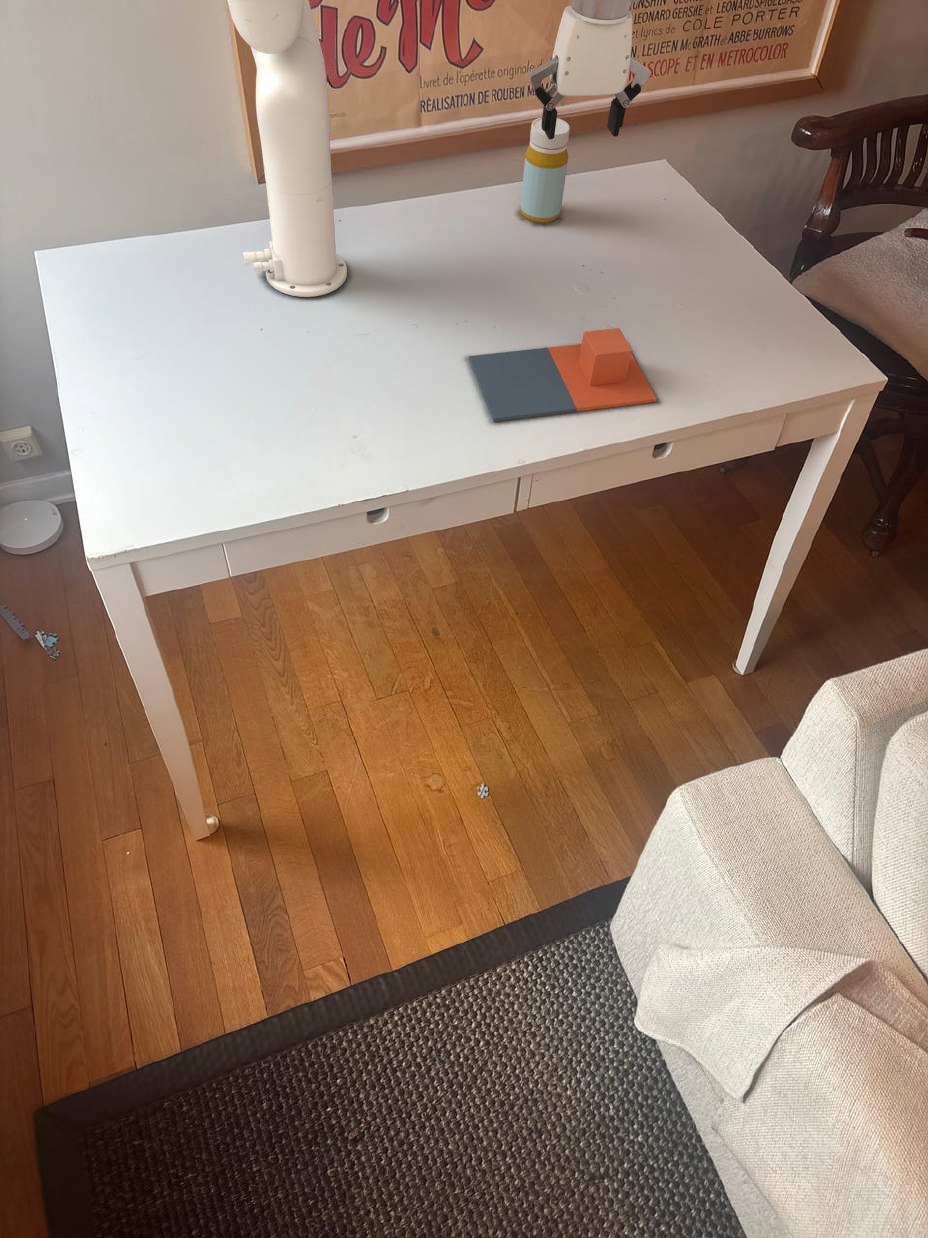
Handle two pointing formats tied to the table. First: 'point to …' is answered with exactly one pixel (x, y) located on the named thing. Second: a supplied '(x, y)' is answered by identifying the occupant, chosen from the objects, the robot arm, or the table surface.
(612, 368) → the block
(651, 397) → the sorting mat
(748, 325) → the table surface
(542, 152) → the bottle
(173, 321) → the table surface
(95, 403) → the table surface
